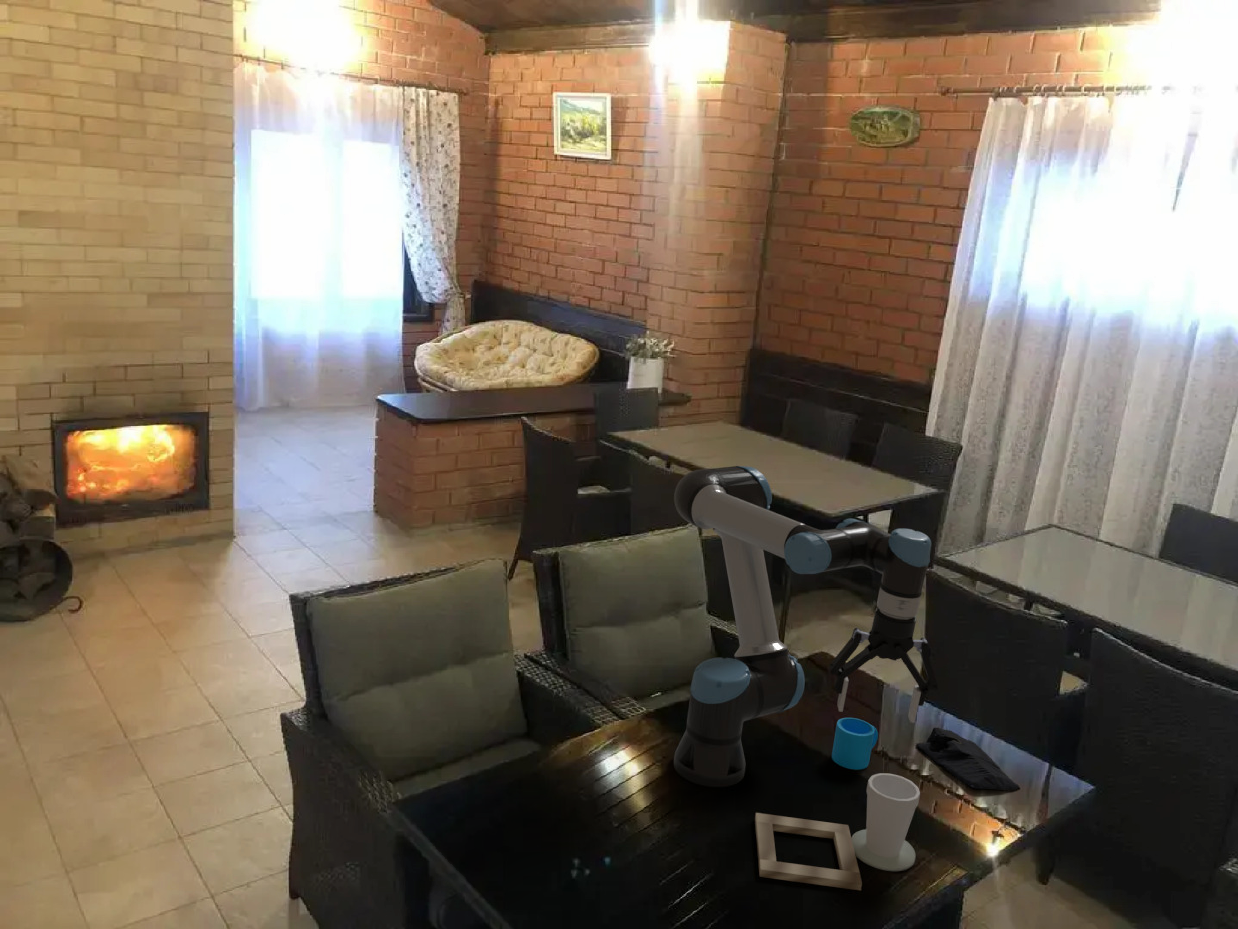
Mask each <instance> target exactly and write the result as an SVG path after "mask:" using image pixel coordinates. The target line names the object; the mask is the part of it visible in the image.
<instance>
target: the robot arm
mask: <svg viewBox="0 0 1238 929" xmlns="http://www.w3.org/2000/svg"><path fill="white" fill-rule="evenodd" d="M772 494H773V493H772V490H771V486H770V483H769V482H768V480H767V478H766V476H765V475H764V474H763V473H762V472H760V471H759V470H758V469H757V468H755V467H752V466H741V465H734V466H733V465H732V466H725V467H715V468H712V467H711V468H700V469H696V470H692V471H689V472H688V473H687V474H685V475H684V476H683V477H682V478H681V479H680V480H679V482H678V483H677V485H676V487H675V489H674V493H673V495H674V496H673V500H674V506H675V510H676V512H678V514H679V515H680V517H681V518H683V520H684V521H686V522H687V523H689V524H691V525H692V526H693V525H694V526H696V527H697V528H700V529H703V530H711V529H712V531H713V532H714V533H715V534H716V535H718V536H719V537H720V539H721V542H722V547H723V548H722V549H723V555H724V561H725V566H726V572H727V578H728V584H729V589H730V590H729V591H730V595H731V601H732V607H733V614H734V618H735V624H736V625H735V626H736V631H737V635H738V636H737V637H738V642H739V646H738V649H737V651H736V652H735V653H734V658H731V657H725V658H723V657H713V658H710V659H707V660H704V661H702V662H700V663H699V664H698V665H697V666H696V667H695V669H694V672H693V675H692V680H691V683H690V692H689V703H688V710H687V718H686V729H685V732H684V733H683V736H682V737H681V739H680V741H679V744H678V745H677V747H676V749H675V752H674V757H673V767H674V770H675V771H676V773H677V774H679V776H680V777H682V778H684V779H685V780H687V781H688V782H691V783H693V784H695V785H698V786H704V787H709V788H726V787H730V786H734V785H736V784H739V783H740V782H742V780H743V779H744V776H745V773H746V759H745V755H744V749H743V745H742V744H743V743H742V732H743V727H744V722H745V721H749V720H753V719H756V718H760V717H764V716H768V715H771V714H780V713H782V712H784V711H786V710H789V709H791V708H794V706H796V705H797V704H798V703H799V702H800V700H801V698H802V696H803V693H804V690H805V682H806V681H805V674H804V670H803V667H802V665H801V663H798V662H799V661H798V659H797V658H796V657H794V656H793V655H791V654H790V653H789V649H788V646H787V645H786V644H784V643H783V642H782V641H781V640H780V638H779V634H778V633H779V632H778V625H777V621H776V615H775V610H774V604H773V603H774V602H773V599H772V598H773V597H772V594H771V593H772V592H771V587H770V581H769V576H768V571H767V564H766V558H765V552H764V551H766V552H768V553H771V554H773V555H775V556H777V557H780V558H781V559H784V560H785V563H786V565H787V566H789V567H790V570H792V571H793V572H794V573H796V574H799V575H816V574H820V573H822V572H823V573H825V572H829V571H834V570H840V569H847V568H853V567H859V566H862V567H866V568H869V569H871V570H873V571H875V572H876V573H879V574H880V575H881V574H882V575H881V579H880V586H879V591H878V597H877V602H876V608H875V611H874V615H873V621H872V625H871V629H870V631H869V632H865V631H862V630H861V629H860V628H859V627H856V628H854V629H853V631H852V634H851V637H850V639H849V640H848V641H847V642H846V644H845V645H844V647H842V648H841V649H840V651H839V652H838V654H837V655H836V656H835V658H833V660H832V661H831V662H830V664H828V668H829V673H830V675H832V676H835V677H836V680H835V685H834V689H835V693H836V694H838V698H837V703H836V705H837V709H838V711H837V712H841V713H843V711H844V707H845V701H846V696H847V691H848V687H849V682H850V681H849V678H848V676H850V675H852V673H854V672H855V671H857V670H858V669H860V668H861V667H862V666H863V665H864V664H866V663H867V662H869V661H870V660H871V661H872V660H874V659H875V658H876V657H878V658H879V659H884V660H885V659H889V660H891V661H894V662H895V661H897V660H899V659H901V661H902V662H903V664H904V666H906V668H907V670H908V671H909V673H910V674H911V676H912V677H913V679H914V681H915V682H916V684H914V686H913V691H912V696H911V699H910V704H909V709H908V714H907V717H908V720H909V722H910V723H912V724H913V723H914V724H915V722H916V718H917V717H916V716H917V712H918V709H919V706H920V707H923V706H924V704H925V701H926V696H927V694H928V693H929V692H930V690H931V691H932V690H933V691H937V690H938V689H939V685H938V681H937V677H936V674H935V672H934V670H933V666H932V663H931V660H930V656H929V651H930V650H929V648H930V646H929V643H928V640H927V638H926V637H921V638H919V639H913V638H914V633H915V629H916V623H917V617H916V616H917V615H918V613H919V609H920V608H919V607H920V603H921V598H922V593H923V588H924V583H925V578H926V575H927V571H928V567H929V565H930V563H931V562H930V561H931V558H930V555H931V550H932V540H931V539H930V537H929V536H928V535H927V534H925V533H924V532H921V531H918V530H916V531H915V530H914V529H911V528H896V529H894V530H892V531H891V532H890V533H889V532H887V531H884V530H882V529H880V528H878V527H876V526H873V525H870V523H868V522H866V521H864V520H859V519H856V518H846V519H843V521H842V522H840V523H838V525H837V526H836V527H835V528H831V529H823V530H822V529H818V528H815V527H812V526H810V525H807V524H805V523H803V522H800V521H797V520H794V519H792V518H789V517H787V516H784V515H783V514H779V513H776V512H775V511H772V510H770V508H771V506H770V505H771V504H772V501H773V495H772ZM864 641H868V642H869V644H868V645H866V646H865V647H864V649H863V650H861V651H860V652H859V653H858V654H856V655H854V656H853V657H852V658H851V659H850V657H851V656H852V655H853V654H854V652H855V651H856V650H857V649H858V647H859V645H860V644H863V643H864ZM914 647H915V649H916V652H918V653H919V654H920V657H921V660H922V662H923V664H922V665H923V667H924V670H925V672H926V676H927V679H928V680H925V679H924V678H923V676H922V674H921V673H920V672H919V670H918V668H917V667H916V665H915V664H914V663H913V660H912V658H910V656H909V654H908V652H909V651H911V650H912V649H913V648H914Z"/></svg>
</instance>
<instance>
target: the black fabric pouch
mask: <svg viewBox="0 0 1238 929" xmlns="http://www.w3.org/2000/svg"><path fill="white" fill-rule="evenodd" d="M915 744H916V747H917V748H918V749H919V750H922V751H923V752H924V753H925V754H926V755H927V756H928V757H929V758H930V759H931V760H933V761H934V762H935V763H937V765H939V766H942V767H944V768H943V769H946V771H948V772H949V773H950V774H951V775H952V776H954V777H955V778H957V779H958V780H959V781H960V782H962V783H963V784H965V785H966V786H969V787H970V788H972V789H975V790H976V789H977V790H978V789H981V790H982V789H983V790H997V791H1017V790H1019V789H1021V787H1020V786H1019V785H1018V784H1017V783H1016V782H1014V780H1012V779H1011V778H1010V777H1009V776H1008V775H1007V774H1006V773H1005V772H1004V771H1003V770H1002V769H1001V767H1000V766H999V765H998V764H997V763H996V762H995V761H994V760H993V758H991V757H990V756H989V755H988V754H987V752H985V751H984V750H983V749H982V748H981V747H980V746H978V745H977V744H976V743H975V742H974V741H973V740H970V739H966V738H964V737H962V736H960V735H959V734H958V733H955V732H954V731H952V730H948V729H943V728H940V727H933V728H932V730H931V733H930V735H929V737H928V738H927V740H926V741H925V742H917V743H915Z"/></svg>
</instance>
